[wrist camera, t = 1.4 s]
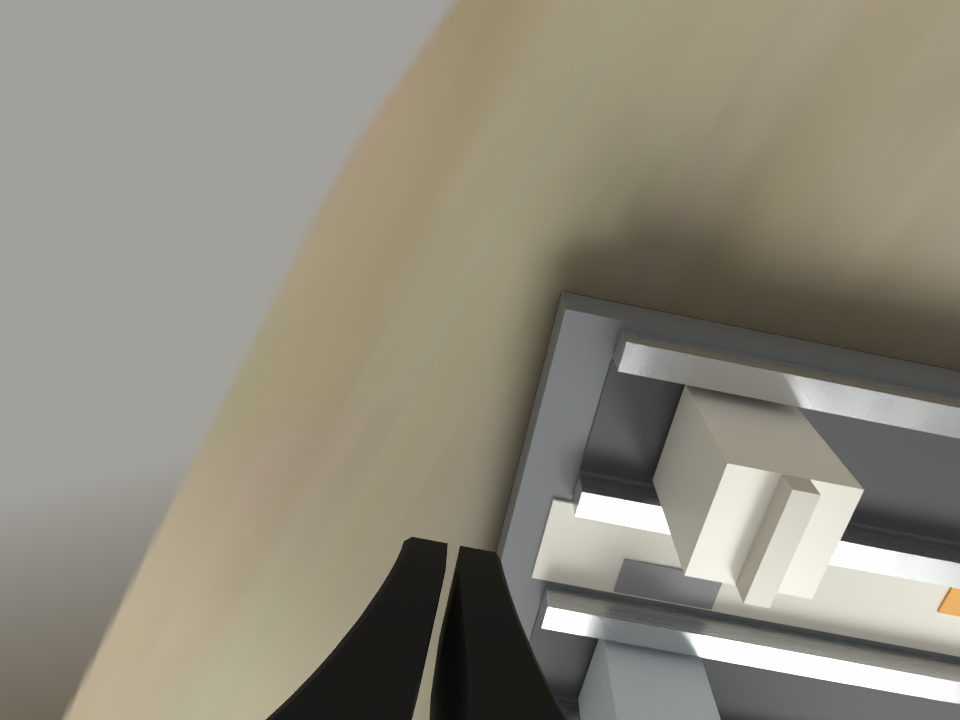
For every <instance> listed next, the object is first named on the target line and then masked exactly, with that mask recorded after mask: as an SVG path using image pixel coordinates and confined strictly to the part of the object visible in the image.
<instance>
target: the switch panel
mask: <svg viewBox="0 0 960 720" xmlns="http://www.w3.org/2000/svg"><path fill="white" fill-rule="evenodd" d="M685 385H690V386H695V387H700V388H705V389H710V390H715V391H720V392H725V393H730V394H735V395H741V396H746V397H751V398H756V399H761V400H766V401H771V402H776V403H781V404H786V405H791V406H796V407H797V408H798V409H799V410H800V412H801V413H802V414H803V415H804V417H805V418H806V419H807V420H808V421H809V423H810V424H811V425H812V426H813V428H814V429H815V430H816V431H817V432H818V434H819V435H820V436H821V437H822V439H823V440H824V441H825V442H826V443H827V445H828V446H829V447H830V448H831V450H832V451H833V452H834V453H835V455H836V456H837V457H838V458H839V459H840V461H841V462H842V463H843V464H844V466H845V467H846V468H847V469H848V470H849V472H850V473H851V474H852V475H853V477H854V478H855V479H856V480H857V481H858V483H859V484H860V485H861V486H862V488H863V489H864V491H863V493H862V496H861V498H860V500H859V502H858V504H857V506H856V508H855V510H854V512H853V514H852V516H851V519H850V521H849V523H848V525H847V527H846V529H845V531H844V533H843V535H842V537H841V540H840V542H839V544H838V546H837V548H836V550H835V552H834V554H833V556H832V558H831V560H830V563H829V565H828V567H827V569H826V571H825V573H824V575H823V577H822V579H821V581H820V584H819V586H818V588H817V590H816V592H815V594H814V596H813V598H812V599H807V598H802V597H797V596H791V595H786V594H781V593H777V594H776V596H775V598H774V600H773V603H772V605H771V607H770V608H765V607H759V606H754V605H749V604H743V601H742V599H741V597H740V594H739V592H738V589H737V587H736V585H732V584H727V583H721V582H716V581H711V580H705V579H700V578H695V577H689V576H684V573H683V570H682V567H681V564H680V561H679V558H678V555H677V552H676V549H675V546H674V543H673V540H672V537H671V534H670V531H669V528H668V525H667V522H666V519H665V516H664V513H663V510H662V507H661V504H660V501H659V498H658V495H657V492H656V489H655V486H654V483H653V477H654V474H655V471H656V468H657V465H658V462H659V460H660V457H661V454H662V451H663V448H664V445H665V442H666V439H667V436H668V433H669V430H670V427H671V424H672V421H673V418H674V415H675V412H676V409H677V407H678V404H679V401H680V398H681V395H682V392H683V389H684V386H685ZM496 553H497V555H498V556H499V558H500V559H501V563H502V567H503V571H504V574H505V578H506V581H507V585H508V588H509V591H510V594H511V597H512V600H513V603H514V605H515V608H516V611H517V614H518V616H519V619H520V622H521V624H522V627H523V629H524V631H525V634H526V636H527V639H528V641H529V643H530V646H531V648H532V650H533V653H534V655H535V657H536V659H537V662H538V664H539V666H540V668H541V670H542V672H543V675H544V677H545V679H546V681H547V683H548V685H549V687H550V689H551V691H552V693H553V695H554V697H555V698H556V700H557V702H558V704H559V706H560V708H561V710H562V712H563V713H564V715H565V717H566V719H567V720H580V711H579V701H578V698H579V695H580V692H581V689H582V686H583V683H584V680H585V677H586V675H587V672H588V669H589V666H590V663H591V660H592V657H593V654H594V651H595V648H596V645H597V642H598V639H604V640H610V641H615V642H621V643H626V644H632V645H637V646H643V647H648V648H654V649H659V650H665V651H670V652H676V653H681V654H687V655H692V656H698V657H701V659H702V662H703V665H704V668H705V672H706V675H707V678H708V681H709V684H710V687H711V690H712V694H713V697H714V700H715V703H716V706H717V709H718V713H719V716H720V719H721V720H960V371H955V370H950V369H945V368H940V367H935V366H930V365H925V364H920V363H915V362H910V361H905V360H900V359H895V358H890V357H885V356H880V355H875V354H870V353H865V352H860V351H855V350H850V349H845V348H840V347H835V346H830V345H825V344H821V343H816V342H811V341H806V340H801V339H796V338H791V337H786V336H781V335H776V334H771V333H766V332H761V331H756V330H751V329H746V328H741V327H736V326H731V325H726V324H721V323H716V322H711V321H706V320H701V319H696V318H691V317H686V316H681V315H676V314H671V313H666V312H661V311H656V310H651V309H646V308H641V307H636V306H631V305H626V304H621V303H616V302H611V301H606V300H601V299H596V298H591V297H587V296H582V295H577V294H572V293H567V292H562V293H561V297H560V301H559V305H558V309H557V313H556V317H555V321H554V325H553V329H552V333H551V337H550V341H549V344H548V348H547V352H546V356H545V360H544V364H543V368H542V372H541V376H540V380H539V384H538V388H537V392H536V396H535V400H534V404H533V408H532V412H531V416H530V420H529V424H528V428H527V432H526V436H525V440H524V444H523V448H522V452H521V456H520V460H519V464H518V468H517V472H516V476H515V480H514V484H513V488H512V492H511V495H510V499H509V503H508V507H507V511H506V515H505V519H504V523H503V527H502V531H501V535H500V539H499V543H498V547H497V551H496Z"/></svg>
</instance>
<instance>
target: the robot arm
mask: <svg viewBox="0 0 960 720" xmlns="http://www.w3.org/2000/svg"><path fill="white" fill-rule="evenodd" d="M447 545H448V544H447V543H442V542H437V541H431V540H426V539H421V538H415V537H411V538H409V539H407V540H405V541H404V543H403V546H402V549H401V552H400V554H399V556H398V558H397V560H396V562H395V564H394V566H393V568H392V570H391V571H390V573H389V575H388V576H387V578H386V580H385V581H384V583H383V585H382V586H381V588H380V589H379V591H378V592H377V594H376V595H375V596H374V598H373V599H372V601H371V602H370V604H369V605H368V607H367V608H366V609H365V611H364V612H363V614H362V615H361V616H360V618H359V619H358V620H357V622H356V623H355V624H354V626H353V627H352V628H351V629H350V631H349V632H348V633H347V634H346V635H345V637H344V638H343V639H342V640H341V642H340V643H339V644H338V645H337V647H336V648H335V649H334V650H333V651H332V653H331V654H330V655H329V656H328V657H327V658H326V660H325V661H324V662H323V663H322V664H321V665H320V666H319V667H318V669H317V670H316V671H315V672H314V673H313V674H312V675H311V676H310V677H309V678H308V679H307V680H306V681H305V682H304V683H303V684H302V685H301V686H300V687H299V688H298V690H297V691H296V692H295V693H294V694H293V695H292V696H291V697H290V698H289V699H288V700H286V701H285V702H284V703H283V704H282V705H281V706H280V707H279V708H278V709H277V710H276V711H275V712H274V713H273V714H271V715H270V716H269V717H268V718H267V719H266V720H412V717H413V713H414V709H415V705H416V701H417V697H418V693H419V688H420V684H421V679H422V675H423V670H424V665H425V661H426V656H427V652H428V647H429V643H430V638H431V634H432V629H433V625H434V620H435V616H436V611H437V606H438V602H439V597H440V593H441V588H442V584H443V579H444V575H445V570H446V558H447ZM430 720H567V719H566V717H565V715H564V713H563V712H562V710H561V708H560V706H559V704H558V702H557V700H556V698H555V697H554V695H553V693H552V691H551V689H550V687H549V685H548V683H547V681H546V679H545V677H544V675H543V672H542V670H541V668H540V666H539V664H538V662H537V659H536V657H535V655H534V653H533V650H532V648H531V646H530V643H529V641H528V639H527V636H526V634H525V631H524V629H523V627H522V624H521V622H520V619H519V616H518V614H517V611H516V608H515V605H514V603H513V600H512V597H511V594H510V591H509V588H508V585H507V581H506V578H505V574H504V571H503V567H502V563H501V559H500V558H499V556H498V555H497V553H496V552H491V551H485V550H480V549H474V548H469V547H464V546H460V549H459V553H458V558H457V562H456V567H455V571H454V575H453V580H452V584H451V589H450V593H449V597H448V602H447V606H446V611H445V615H444V620H443V624H442V628H441V633H440V637H439V643H438V650H437V657H436V664H435V671H434V678H433V685H432V692H431V703H430Z"/></svg>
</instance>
